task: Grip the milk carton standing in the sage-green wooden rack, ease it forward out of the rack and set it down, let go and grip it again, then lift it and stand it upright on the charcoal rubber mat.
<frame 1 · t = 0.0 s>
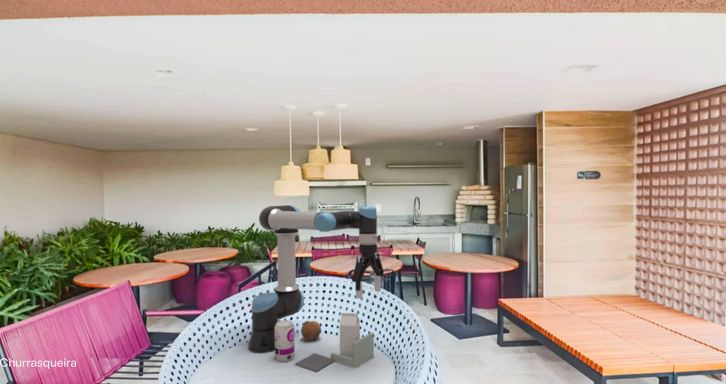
hand: (368, 294, 159), 28 cm above the table, tool pointing down, fingers open, 13 cm apart
mat: (315, 362, 158), on the table
onion: (311, 339, 184), on the table
rack: (352, 358, 162), on the table
supplement can: (284, 358, 163), on the table
milk carton: (350, 358, 163), resting in rack
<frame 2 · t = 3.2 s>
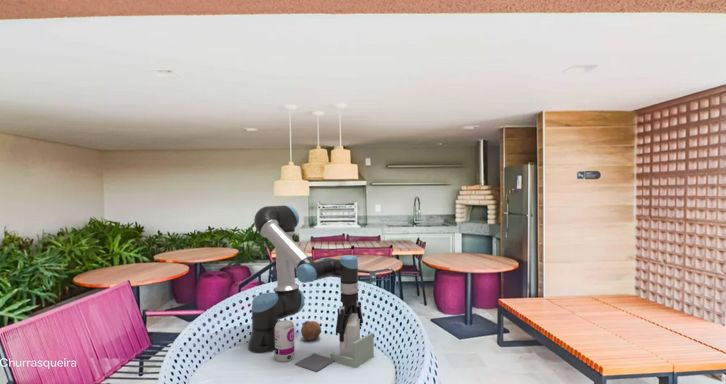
hand: (350, 344, 163), 5 cm above the table, tool pointing down, fingers closed on milk carton, 9 cm apart
milk carton: (350, 358, 163), resting in rack, touching gripper
everything else where it was.
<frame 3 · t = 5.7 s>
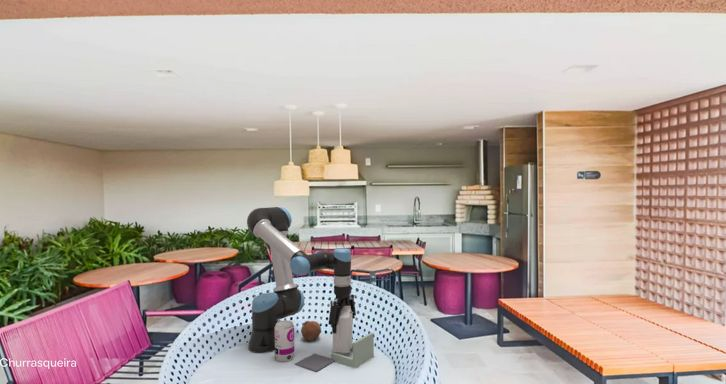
hand: (342, 336, 165), 8 cm above the table, tool pointing down, fingers closed on milk carton, 9 cm apart
milk carton: (342, 349, 165), point 2 cm above the table, touching gripper
everything else where it was.
when the fingers open (7 cm above the table, at t = 8.3 s): milk carton drops 1 cm, on the table.
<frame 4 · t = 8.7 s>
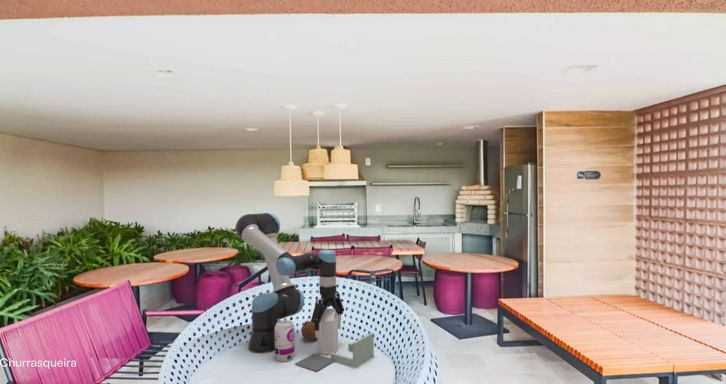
hand: (328, 332, 170), 8 cm above the table, tool pointing down, fingers open, 13 cm apart
milk carton: (328, 351, 170), on the table
everything else where it was.
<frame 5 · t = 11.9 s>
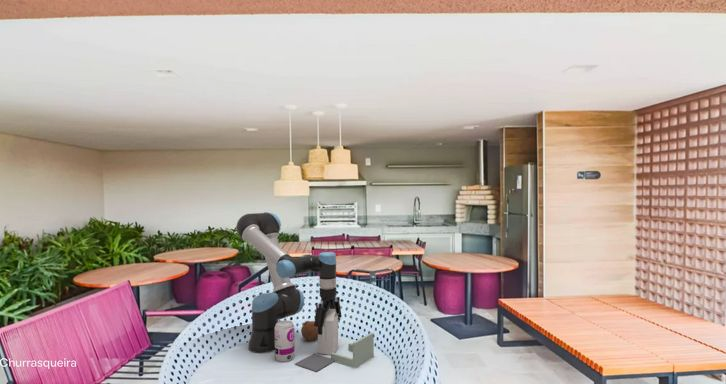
hand: (328, 337, 170), 6 cm above the table, tool pointing down, fingers closed on milk carton, 9 cm apart
milk carton: (328, 351, 170), on the table, touching gripper
everything else where it was.
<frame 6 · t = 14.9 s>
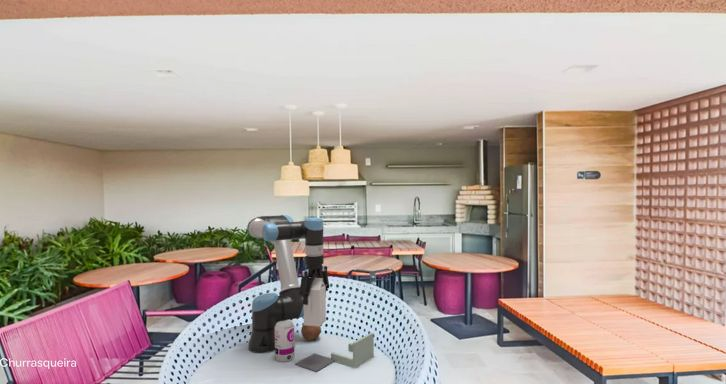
hand: (315, 309, 158), 22 cm above the table, tool pointing down, fingers closed on milk carton, 9 cm apart
milk carton: (314, 323, 158), point 16 cm above the table, touching gripper
everything else where it was.
when the fingers open (8 cm above the table, at t = 18.0 s): milk carton drops 1 cm, resting on mat.
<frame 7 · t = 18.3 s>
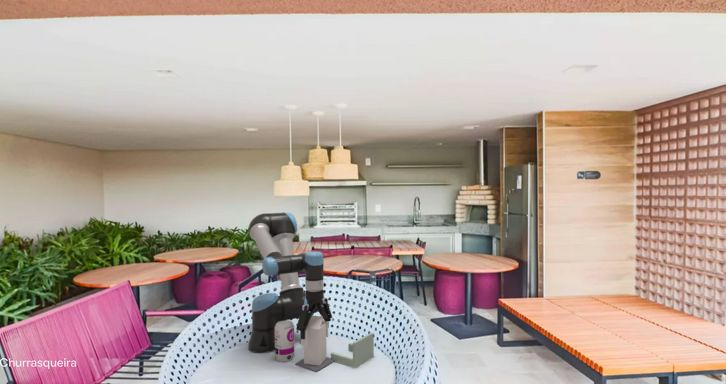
hand: (315, 341, 158), 9 cm above the table, tool pointing down, fingers open, 12 cm apart
milk carton: (315, 361, 158), resting on mat
everything else where it was.
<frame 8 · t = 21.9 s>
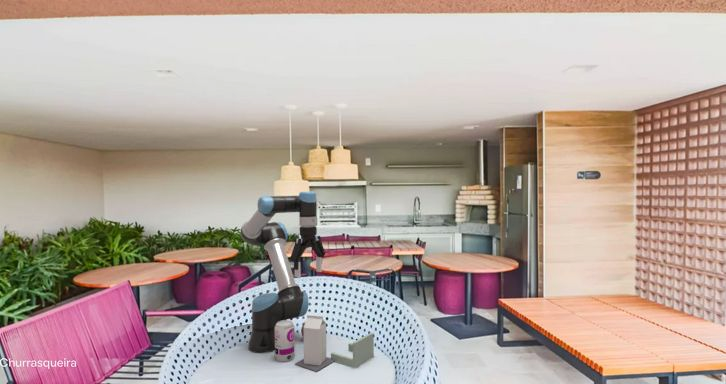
hand: (308, 274, 168), 35 cm above the table, tool pointing down, fingers open, 13 cm apart
nothing on the table moved.
at the end: milk carton inside the target area on the mat (0.1 cm from its centre), point 0.3 cm above the mat's base; milk carton tilted 0°; the gripper is holding nothing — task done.
